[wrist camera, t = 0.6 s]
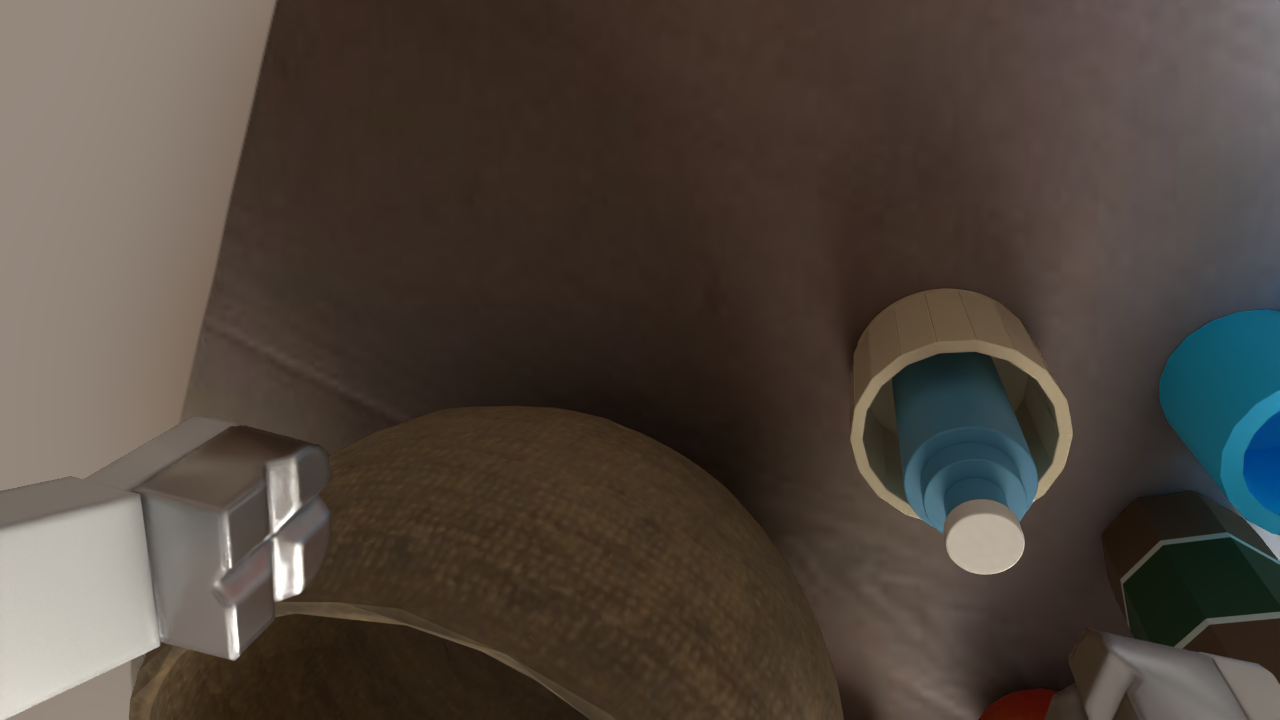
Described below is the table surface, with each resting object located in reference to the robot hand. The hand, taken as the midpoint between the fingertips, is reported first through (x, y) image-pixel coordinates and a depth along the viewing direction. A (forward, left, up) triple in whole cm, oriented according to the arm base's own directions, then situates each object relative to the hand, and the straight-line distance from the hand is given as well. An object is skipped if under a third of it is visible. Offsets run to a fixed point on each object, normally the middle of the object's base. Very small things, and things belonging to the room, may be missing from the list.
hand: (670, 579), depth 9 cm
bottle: (+15, +1, -37) cm, 40 cm away
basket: (+20, -25, -38) cm, 50 cm away
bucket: (+15, +1, -38) cm, 41 cm away
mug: (+20, +16, -38) cm, 46 cm away
